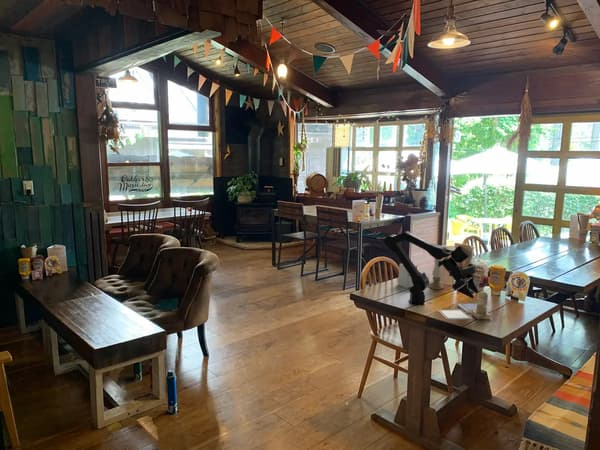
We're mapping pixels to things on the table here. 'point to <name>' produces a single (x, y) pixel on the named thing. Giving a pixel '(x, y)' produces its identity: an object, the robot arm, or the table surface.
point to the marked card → (454, 314)
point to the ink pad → (468, 307)
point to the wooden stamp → (481, 307)
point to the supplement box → (404, 277)
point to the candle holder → (436, 277)
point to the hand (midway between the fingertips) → (475, 295)
